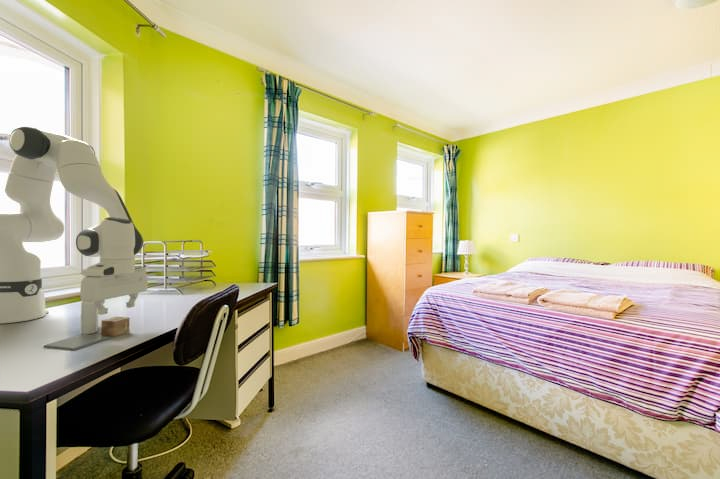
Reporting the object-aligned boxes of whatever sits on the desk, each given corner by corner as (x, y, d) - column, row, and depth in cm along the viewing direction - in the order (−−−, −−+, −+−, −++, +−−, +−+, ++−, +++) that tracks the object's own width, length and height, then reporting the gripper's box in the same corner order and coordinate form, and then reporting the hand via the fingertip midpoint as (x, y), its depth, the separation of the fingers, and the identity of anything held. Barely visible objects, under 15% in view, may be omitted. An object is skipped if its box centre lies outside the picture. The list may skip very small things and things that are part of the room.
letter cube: (101, 336, 96) (101, 320, 96) (116, 331, 101) (116, 316, 101) (115, 337, 95) (115, 321, 95) (129, 332, 100) (129, 317, 100)
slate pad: (43, 347, 85) (43, 345, 85) (81, 335, 95) (81, 334, 95) (73, 350, 84) (73, 348, 84) (108, 338, 94) (108, 336, 94)
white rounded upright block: (82, 327, 103) (82, 291, 103) (98, 325, 106) (99, 290, 106) (79, 336, 95) (80, 296, 95) (97, 333, 98) (98, 295, 98)
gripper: (137, 264, 109) (136, 303, 109) (76, 270, 88) (75, 318, 88) (153, 265, 108) (152, 304, 108) (94, 271, 87) (94, 319, 88)
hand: (117, 310), depth 98 cm, fingers open, 8 cm apart
